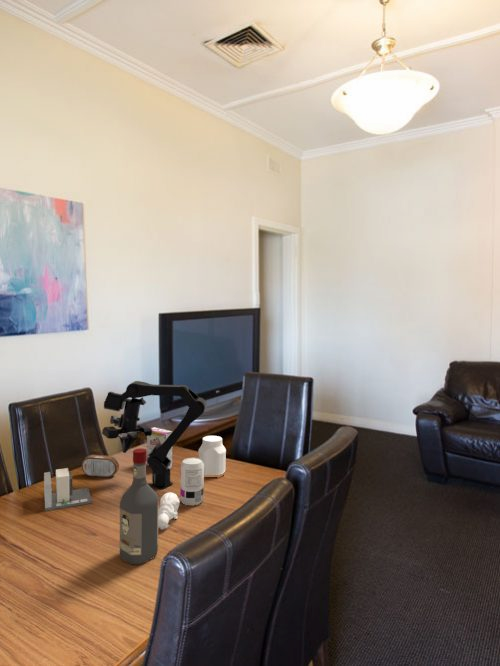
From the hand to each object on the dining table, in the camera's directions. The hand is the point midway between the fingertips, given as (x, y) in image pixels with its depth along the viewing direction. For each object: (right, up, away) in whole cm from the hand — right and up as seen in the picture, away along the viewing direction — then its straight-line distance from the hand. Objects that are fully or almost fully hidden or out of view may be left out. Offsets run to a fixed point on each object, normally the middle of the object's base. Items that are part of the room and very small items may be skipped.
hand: (124, 452), depth 174 cm
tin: (-12, -12, +8) cm, 19 cm away
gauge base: (-16, -13, -14) cm, 25 cm away
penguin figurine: (+22, -15, -30) cm, 40 cm away
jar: (+33, -13, +14) cm, 38 cm away
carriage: (-17, -12, -16) cm, 26 cm away
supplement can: (+28, -14, -14) cm, 34 cm away
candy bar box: (+10, -12, +20) cm, 25 cm away
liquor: (+18, -16, -48) cm, 54 cm away
